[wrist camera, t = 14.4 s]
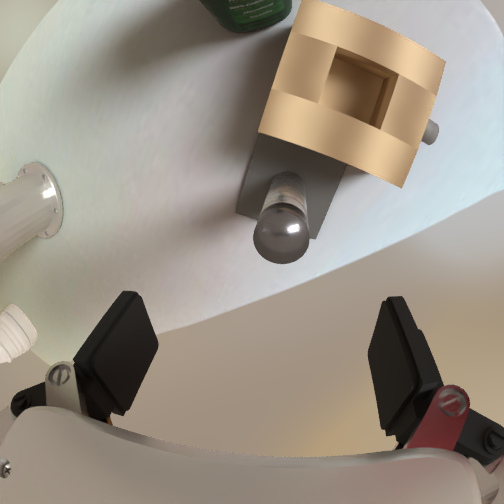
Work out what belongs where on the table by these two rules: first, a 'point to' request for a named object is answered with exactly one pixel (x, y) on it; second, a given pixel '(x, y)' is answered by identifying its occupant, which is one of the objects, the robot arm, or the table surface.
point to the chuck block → (354, 91)
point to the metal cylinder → (283, 221)
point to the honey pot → (15, 333)
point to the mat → (294, 160)
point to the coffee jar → (248, 13)
